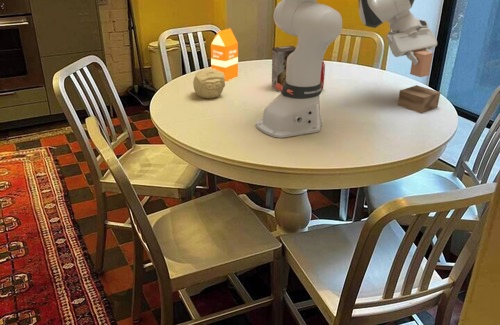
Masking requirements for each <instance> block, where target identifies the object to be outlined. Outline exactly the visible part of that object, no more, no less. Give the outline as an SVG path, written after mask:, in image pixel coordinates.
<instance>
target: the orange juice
mask: <svg viewBox="0 0 500 325" xmlns="http://www.w3.org/2000/svg"><path fill="white" fill-rule="evenodd" d="M238 47H239V43H238V41H237V39H236V37H235V34H234V33H233V30H232V29H231V28H227V29H223V30H219V31H217V33H216V35H215V36H214V39H212V42H211V44H210V65H211V66H210V67H211V68H210V69H213V68H215V69H216V70H218V71H221V72H223V73H224V75H225V81H226V82H228V81H230V80H229V79H231V80H233V79H235V78H234V77H236V78H238V77H239V48H238ZM237 76H238V77H237ZM232 78H233V79H232ZM227 80H228V81H227Z"/></svg>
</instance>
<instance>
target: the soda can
mask: <svg viewBox="0 0 500 325" xmlns="http://www.w3.org/2000/svg"><path fill="white" fill-rule="evenodd" d="M325 71H326V63H325V60H324V59H323V61H322V68H321V78H320V82H321V91H322V90H323V89H324V84H325V76H326V73H325Z"/></svg>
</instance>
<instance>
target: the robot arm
mask: <svg viewBox="0 0 500 325" xmlns="http://www.w3.org/2000/svg"><path fill="white" fill-rule="evenodd" d="M414 2H415V0H358V14H359V18H360V21H361V22H362V23H363V25H364V26H365V27H368V28H371V29H372V28H373V29H376V28H377V27H379V26H381V25H382V24H384V23H385V22H387V24H389V29H390V31H388V32H387V34H386V38H387V41H388V47H389V49H390V51H391V54H392V55H393V56H394V57H396V58H399V57H403V56H406V58H407V59H408V60H410V61H411V63H412V62H413V64H414V65H416V64H418V63H420V60H419V59H418V58H416V57H415V56H414V55H413V54H414V53H413V52H416V51H420V50H424V51H428V52H431V51H432V50H434V48H436V47H437V46H438V40H437V38H436V36H435V34H434V33H433V31H432V29H430V28H429V23H428V21H427V20H423V19H420V18H417V17H415V16H414V14H413V13H412V12H411V11H410V9H412V7H413V4H414ZM275 6H276V7H275V8H274V11H273V21H274V24H275V25H276V27H277V28H278V29H279V30H281V31H282V32H284V33H286V34H287V35H290V36H293V37H297V43H296V46H295V47H296V49H295V51H294V52H292V53H291V54H290V55H289V56H288V58H287V67H286V80H285V82H284V84H283V85H281V84H279V83H277V84H276V85H275V88H276V89H277V90H279V91H278V92H280V93H279V94H278V95H277V96H276V97H275V98H274V99H273V100H272V101H271V102H270V103H269V104H268V105H267V106H265V108H264V111H263V115H262V118H261V119H260V120H256V121H255V126H256V129H258V130H259V131H261V132H262V133H264V134H266V135H268V136H270V137H274V138H279V139H282V138H283V139H284V138H288V137H296V136H301V135H308V134H314V133H319V132H321V126H322V125H323V121H322V117H321V108H320V107H321V106H320V105H321V102H320V101H321V100H320V97H321V96H320V95H321V93H322V90H321V82H320V78H321V68H322V61H323V60H324V57H325V53H326V51H327V49H328V47H329V46H330V45H331V44H332V43H333V42H334V41H335V40H337V39H338V37H339V36H340V34H341V33H342V29H343V18H342V15H341V13H340V12H339V11H338V10H336V9H334V8H333V7H331V6H329V5H327V4H323V3H318V0H281V1H279V2H278V3H277V5H275Z"/></svg>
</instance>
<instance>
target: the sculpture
mask: <svg viewBox="0 0 500 325" xmlns="http://www.w3.org/2000/svg"><path fill="white" fill-rule="evenodd" d="M192 85H193V89H194V92H195V93H196V95H197V96H199V97H200V98H203V99H215V98H217V97H219V96H220V95H221V94H222V92H223V91H224V88H225V87H226V82H225V75H224V73H223V72H221V71H218V70H216V69H215V68H213V69H211V68H203V69H200V70H199V71H197V73H196V74H195V76H194V77H193V81H192Z"/></svg>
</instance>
